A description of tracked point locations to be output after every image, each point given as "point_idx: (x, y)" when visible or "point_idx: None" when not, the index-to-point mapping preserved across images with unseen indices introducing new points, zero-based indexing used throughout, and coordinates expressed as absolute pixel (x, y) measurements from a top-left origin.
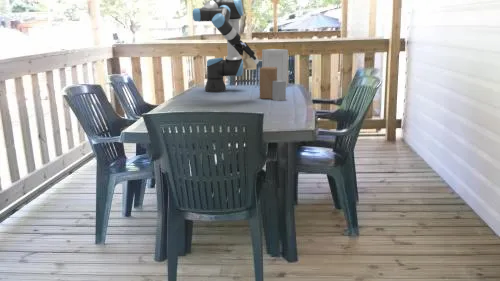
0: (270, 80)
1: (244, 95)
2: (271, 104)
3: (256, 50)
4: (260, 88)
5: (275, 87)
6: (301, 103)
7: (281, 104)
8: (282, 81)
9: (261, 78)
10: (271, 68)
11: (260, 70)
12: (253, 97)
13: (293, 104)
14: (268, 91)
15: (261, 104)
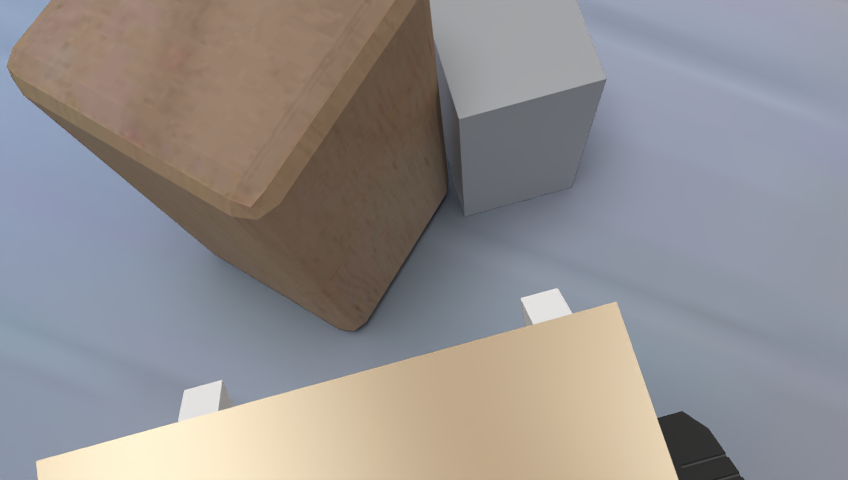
0: (410, 134)
1: (27, 430)
2: (790, 345)
3: (610, 313)
4: (341, 302)
5: (531, 138)
6: (798, 17)
7: (815, 235)
8: (568, 5)
9: (321, 250)
10: (388, 9)
11: (272, 221)
12: (223, 373)
13: (843, 114)
14: (409, 217)
15: (762, 464)
